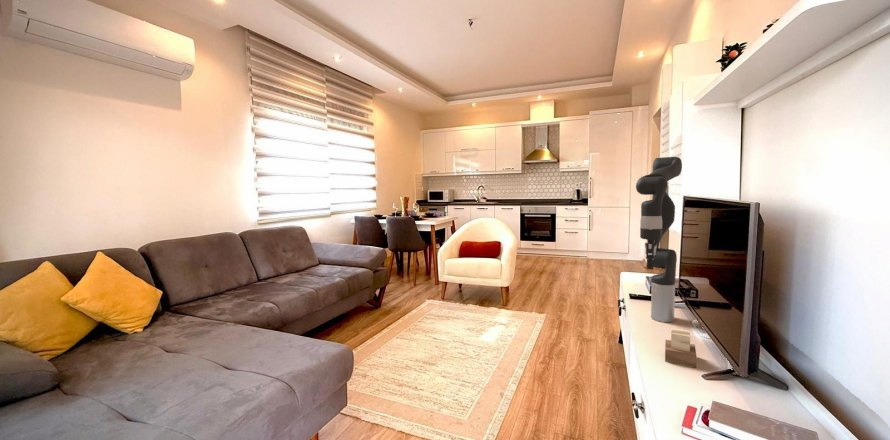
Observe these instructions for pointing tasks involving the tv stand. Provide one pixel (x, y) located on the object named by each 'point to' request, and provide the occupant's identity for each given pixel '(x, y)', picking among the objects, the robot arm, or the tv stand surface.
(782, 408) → the tv stand surface
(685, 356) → the walnut base block
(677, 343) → the birch cube
